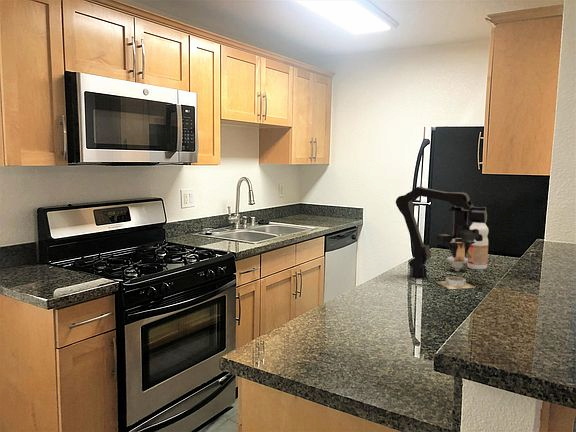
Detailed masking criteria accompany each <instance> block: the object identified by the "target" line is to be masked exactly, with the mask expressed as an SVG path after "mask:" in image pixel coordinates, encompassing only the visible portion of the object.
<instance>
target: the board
mask: <svg viewBox="0 0 576 432" xmlns="http://www.w3.org/2000/svg"><path fill="white" fill-rule="evenodd" d="M436 283H437V284H439V285H441V286H443V287H444V288H446V289H448V290H455V289H456V290H457V289H476V288H477V287H475V286H474V285H472V284H469V283H467V282H466V285H465V286H464V287H452V286H448V285H446V284H445V281H443V280H442V281H436Z"/></svg>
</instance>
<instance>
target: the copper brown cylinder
mask: <svg viewBox="0 0 576 432" xmlns="http://www.w3.org/2000/svg"><path fill="white" fill-rule="evenodd" d="M455 242H456V243H457V245H456V255H455V258H454V261H455V262H465V258H466V257H465V243H464V242H462V241H455Z"/></svg>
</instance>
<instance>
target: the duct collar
mask: <svg viewBox="0 0 576 432" xmlns="http://www.w3.org/2000/svg"><path fill="white" fill-rule="evenodd" d="M466 283H467V279H465V278H463V277H460V276H459V277H458V276H446V277H445V284H446V285H448V286H452V287H464V286H465V285H466Z"/></svg>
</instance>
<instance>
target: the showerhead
mask: <svg viewBox="0 0 576 432" xmlns="http://www.w3.org/2000/svg"><path fill="white" fill-rule="evenodd" d="M447 262H450V263H451V267H453V268H454V271H455V272H460V269H461V268H463V264H464V263H467V262H468V257H465V262H455V261H454V257H453V256H452V255H450V256H447Z"/></svg>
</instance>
